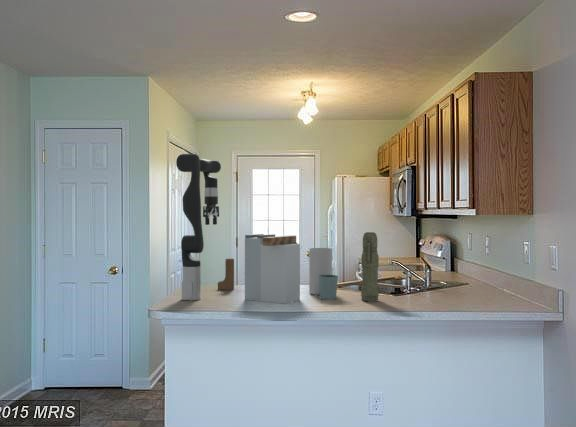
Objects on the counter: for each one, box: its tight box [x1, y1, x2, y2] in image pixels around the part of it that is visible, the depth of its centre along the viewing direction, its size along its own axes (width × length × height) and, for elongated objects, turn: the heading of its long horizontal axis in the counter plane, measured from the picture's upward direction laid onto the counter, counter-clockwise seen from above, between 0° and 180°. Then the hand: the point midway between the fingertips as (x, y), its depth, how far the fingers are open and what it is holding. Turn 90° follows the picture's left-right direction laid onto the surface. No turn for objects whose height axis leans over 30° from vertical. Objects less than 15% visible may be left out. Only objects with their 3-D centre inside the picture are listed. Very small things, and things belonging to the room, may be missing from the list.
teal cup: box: [319, 274, 339, 300], centre depth 299 cm, size 10×10×12 cm
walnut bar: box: [263, 235, 297, 246], centre depth 288 cm, size 26×4×4 cm, turn 149°
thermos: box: [360, 231, 380, 302], centre depth 291 cm, size 9×12×35 cm
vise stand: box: [244, 233, 301, 304], centre depth 294 cm, size 14×25×34 cm, turn 58°
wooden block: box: [217, 258, 235, 291], centre depth 330 cm, size 9×4×18 cm, turn 88°
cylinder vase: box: [308, 247, 333, 296], centre depth 315 cm, size 12×12×25 cm
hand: (211, 224), depth 320 cm, fingers open, 8 cm apart
